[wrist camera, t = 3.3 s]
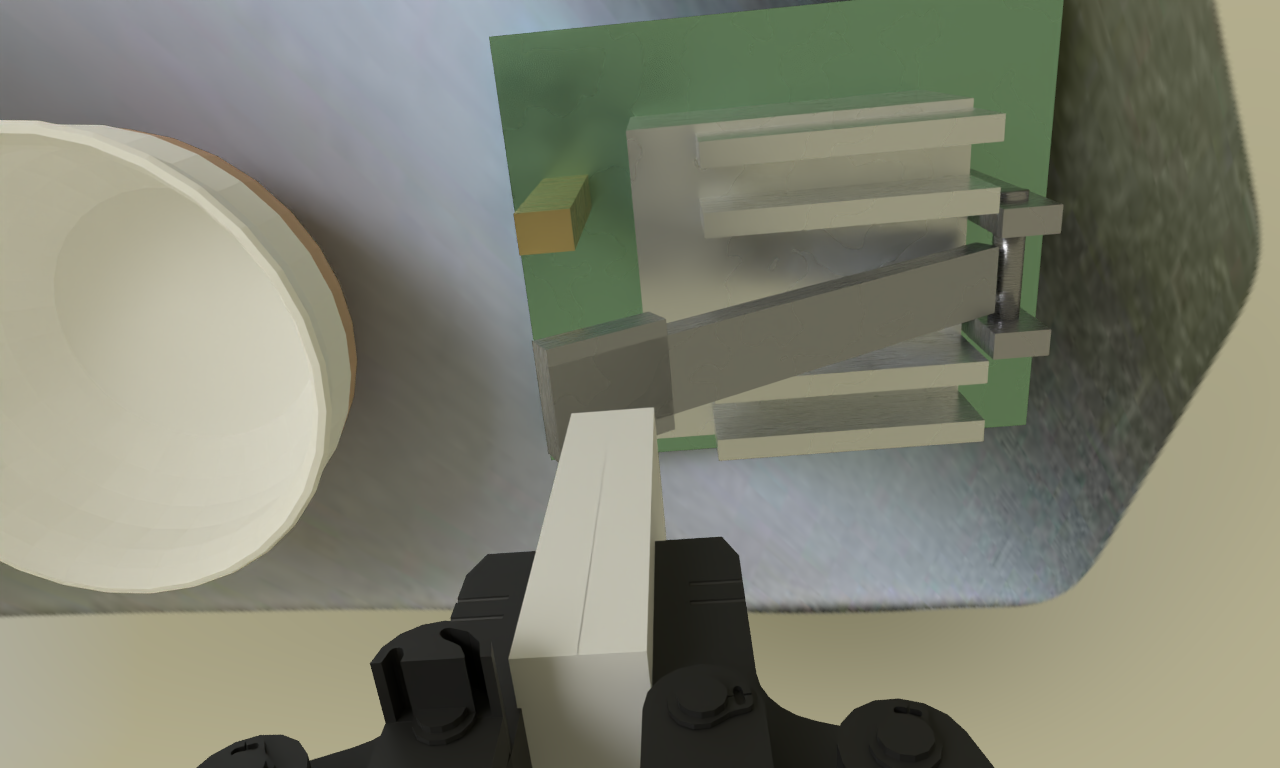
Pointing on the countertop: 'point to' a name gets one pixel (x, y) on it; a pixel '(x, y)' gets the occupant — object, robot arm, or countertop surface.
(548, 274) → the heatsink
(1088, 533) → the countertop surface
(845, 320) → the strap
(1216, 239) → the countertop surface
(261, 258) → the bowl
